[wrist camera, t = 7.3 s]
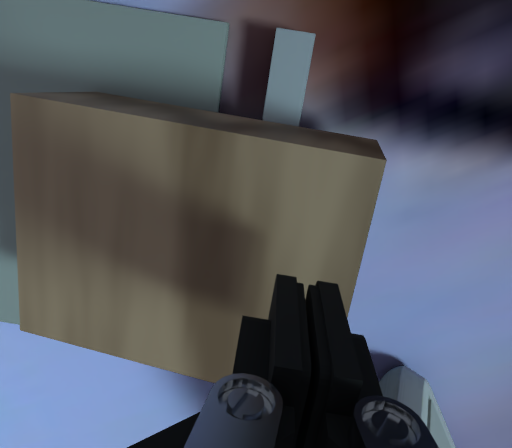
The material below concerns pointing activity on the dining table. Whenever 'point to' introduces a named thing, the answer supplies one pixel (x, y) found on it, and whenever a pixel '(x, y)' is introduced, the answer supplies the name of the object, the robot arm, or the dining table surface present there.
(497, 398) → the dining table surface
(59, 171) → the block
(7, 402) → the dining table surface
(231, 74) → the dining table surface
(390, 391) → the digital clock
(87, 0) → the mat
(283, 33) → the rail
